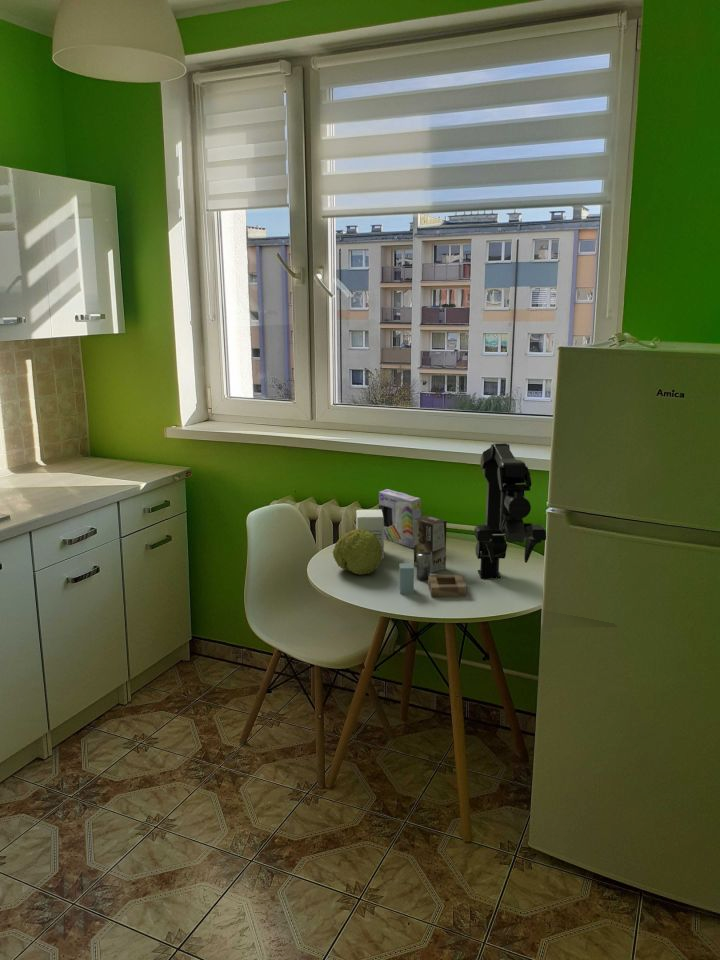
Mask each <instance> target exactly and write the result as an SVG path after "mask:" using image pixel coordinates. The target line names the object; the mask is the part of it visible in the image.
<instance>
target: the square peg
mask: <svg viewBox="0 0 720 960" xmlns="http://www.w3.org/2000/svg"><path fill="white" fill-rule="evenodd" d="M398 565H399V570H398V571H399V573H398V575H399V576H398V579H399V580H398V581H399V582H398V583H399V584H398V585H399V594H401V595H407V594H410V595H411V594H412V595H413V594H414V593H415V592H414V591H415V587H414V586H415V585H414V584H415V583H414V582H415V576H414V575H415V566H414V562H413V563H399V564H398Z"/></svg>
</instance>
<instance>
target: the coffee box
mask: <svg viewBox="0 0 720 960" xmlns="http://www.w3.org/2000/svg"><path fill="white" fill-rule="evenodd" d="M419 552H428V553H430V573H437V572H439V571H442V570H446V569H447V568H446V567H447V566H446V564H447V520H445V519H441V518H438V517H436V516H431V515H428V514H426V515H421V517H419V518H416V519H414V548H413V566H414V567H416V568H417V553H419Z"/></svg>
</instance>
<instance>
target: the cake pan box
mask: <svg viewBox="0 0 720 960" xmlns="http://www.w3.org/2000/svg"><path fill="white" fill-rule="evenodd" d="M378 504H379V505H378V509H377V510H380V509H381V510H382V513H383V517H384V539H385V540H387V541H391V542H393V543H397V544H400V545H403V546H406V547H407V548H412V549H414V519H416V518H419V517H422V499H421V498H420V497H416V496H413V495H409V494H407V493H405V492H401V491H400V492H398V491H395V490H392V489H388V488H386V489H384V490H380V491H378Z"/></svg>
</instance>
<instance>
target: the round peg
mask: <svg viewBox="0 0 720 960" xmlns="http://www.w3.org/2000/svg"><path fill="white" fill-rule="evenodd" d="M428 575H431V572H430V553H428V552H419V553H417V567H416V580H417V581H422V582H426V581H427V582H428Z"/></svg>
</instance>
